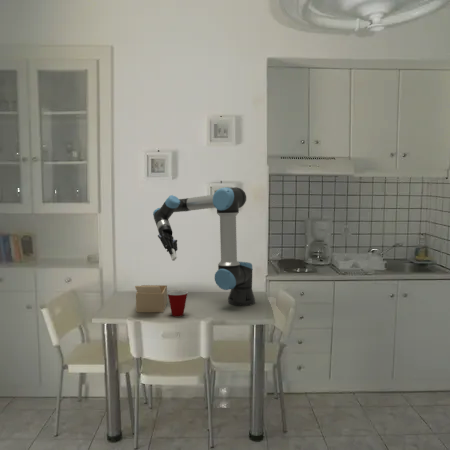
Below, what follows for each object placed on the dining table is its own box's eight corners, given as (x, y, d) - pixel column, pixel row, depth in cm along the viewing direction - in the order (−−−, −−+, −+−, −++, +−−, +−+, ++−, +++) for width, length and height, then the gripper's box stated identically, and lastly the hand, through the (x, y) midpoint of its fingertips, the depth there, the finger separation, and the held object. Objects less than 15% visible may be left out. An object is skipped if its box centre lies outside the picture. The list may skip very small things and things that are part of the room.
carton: (166, 303, 259) (166, 285, 258) (163, 312, 241) (163, 293, 240) (141, 302, 259) (141, 285, 258) (136, 312, 241) (136, 293, 240)
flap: (161, 291, 241) (159, 286, 232) (161, 293, 240) (159, 287, 231) (138, 291, 240) (135, 285, 231) (137, 292, 240) (134, 286, 231)
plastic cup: (183, 310, 245) (183, 288, 243) (191, 316, 235) (191, 292, 234) (163, 313, 239) (163, 290, 238) (171, 319, 230) (171, 295, 229)
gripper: (169, 237, 270) (179, 266, 254) (151, 229, 262) (160, 259, 246) (177, 228, 268) (187, 258, 252) (159, 221, 259) (169, 250, 243)
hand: (174, 258), depth 249 cm, fingers closed
